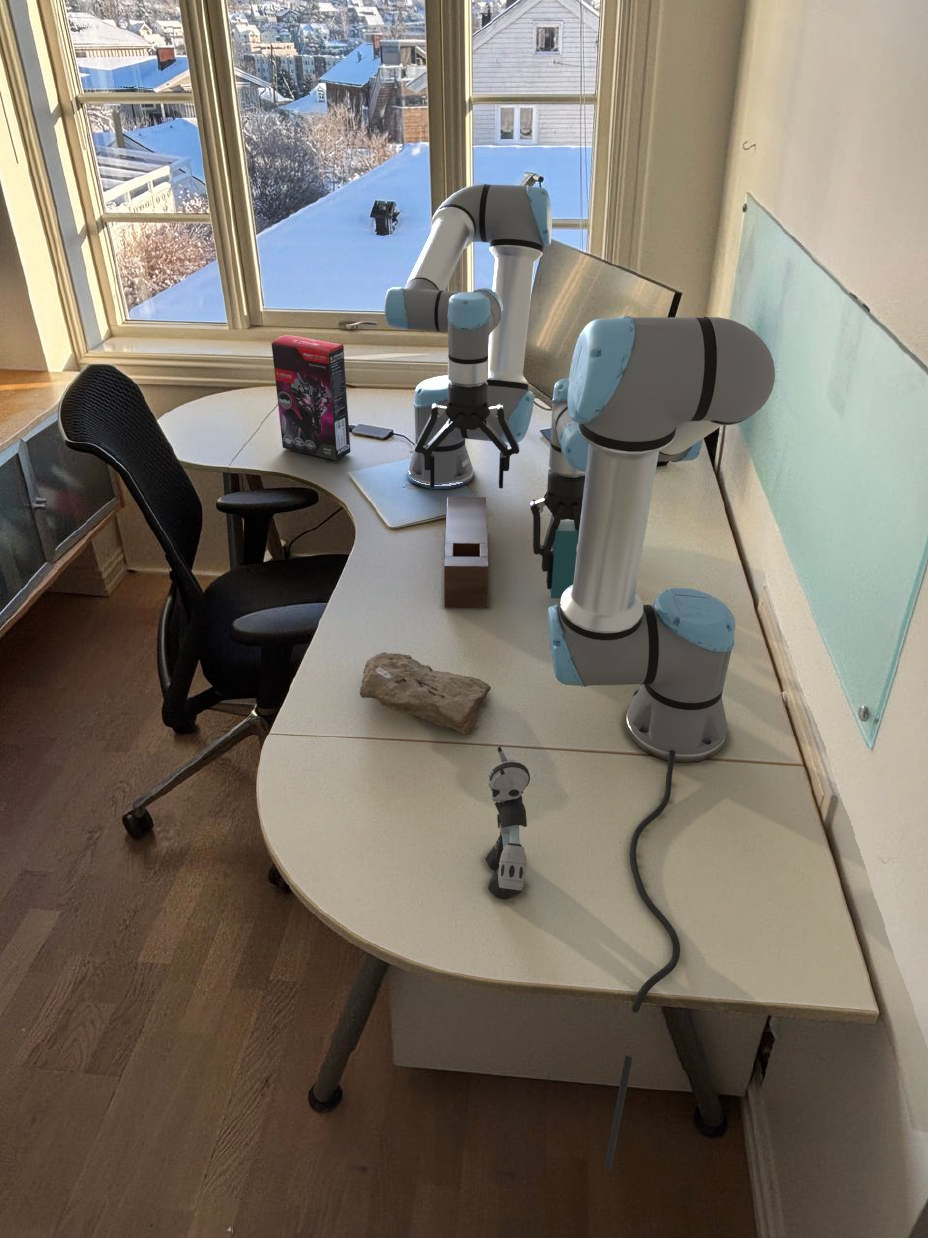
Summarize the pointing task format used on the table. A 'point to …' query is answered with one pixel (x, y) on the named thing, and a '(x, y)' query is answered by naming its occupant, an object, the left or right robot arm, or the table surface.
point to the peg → (563, 558)
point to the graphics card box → (312, 396)
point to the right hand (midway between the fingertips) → (561, 585)
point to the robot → (508, 827)
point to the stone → (424, 691)
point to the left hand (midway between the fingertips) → (466, 485)
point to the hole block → (466, 553)
